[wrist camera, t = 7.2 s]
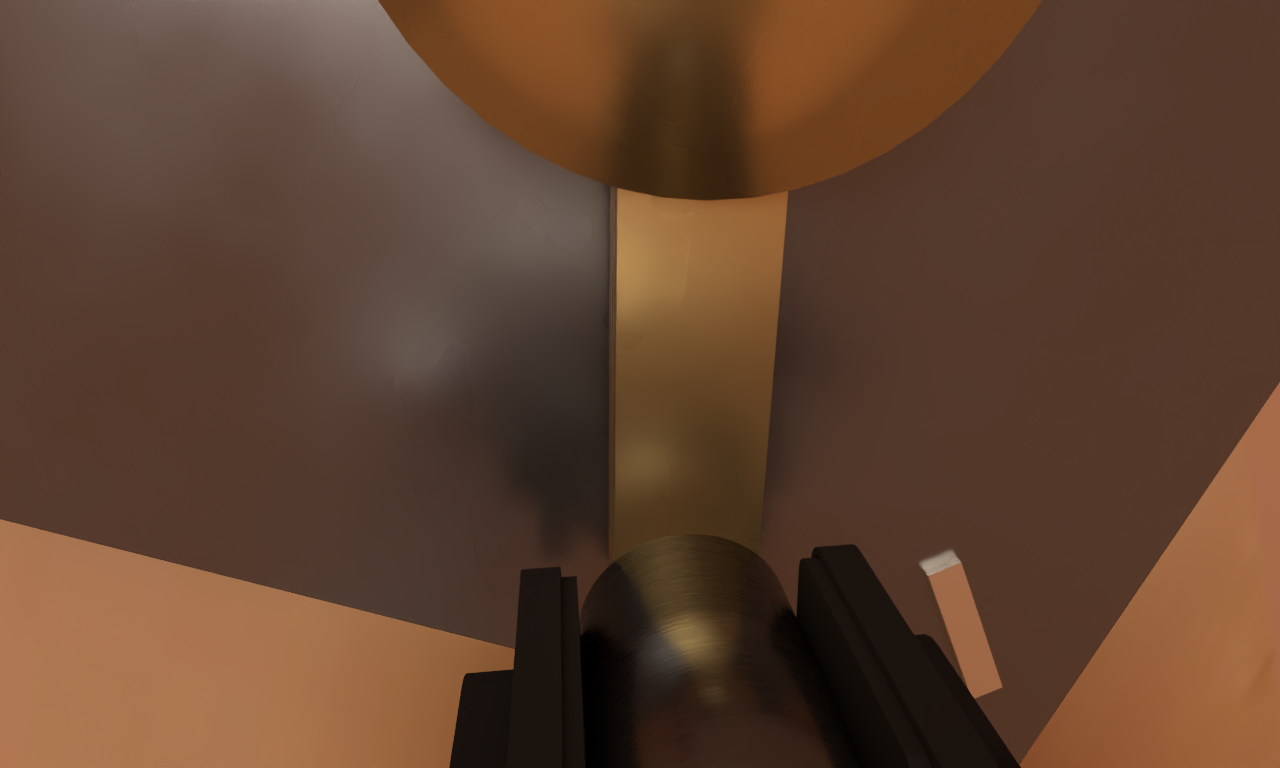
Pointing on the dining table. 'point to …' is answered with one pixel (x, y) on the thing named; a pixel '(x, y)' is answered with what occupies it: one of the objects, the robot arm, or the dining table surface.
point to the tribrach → (579, 322)
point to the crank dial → (702, 309)
